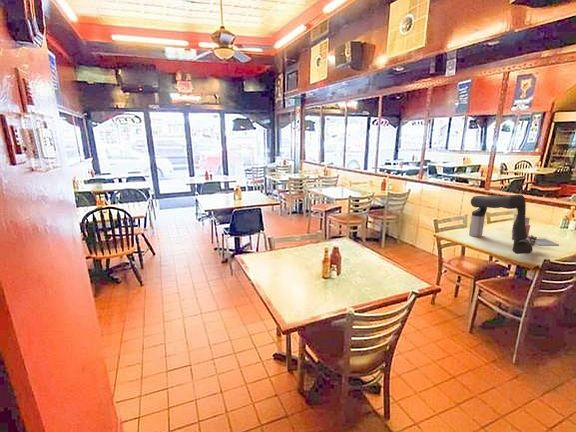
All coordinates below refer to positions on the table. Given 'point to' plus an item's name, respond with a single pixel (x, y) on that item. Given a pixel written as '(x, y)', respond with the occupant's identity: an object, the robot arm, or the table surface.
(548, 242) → the slate mat
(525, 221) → the candy bar box
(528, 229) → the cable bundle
